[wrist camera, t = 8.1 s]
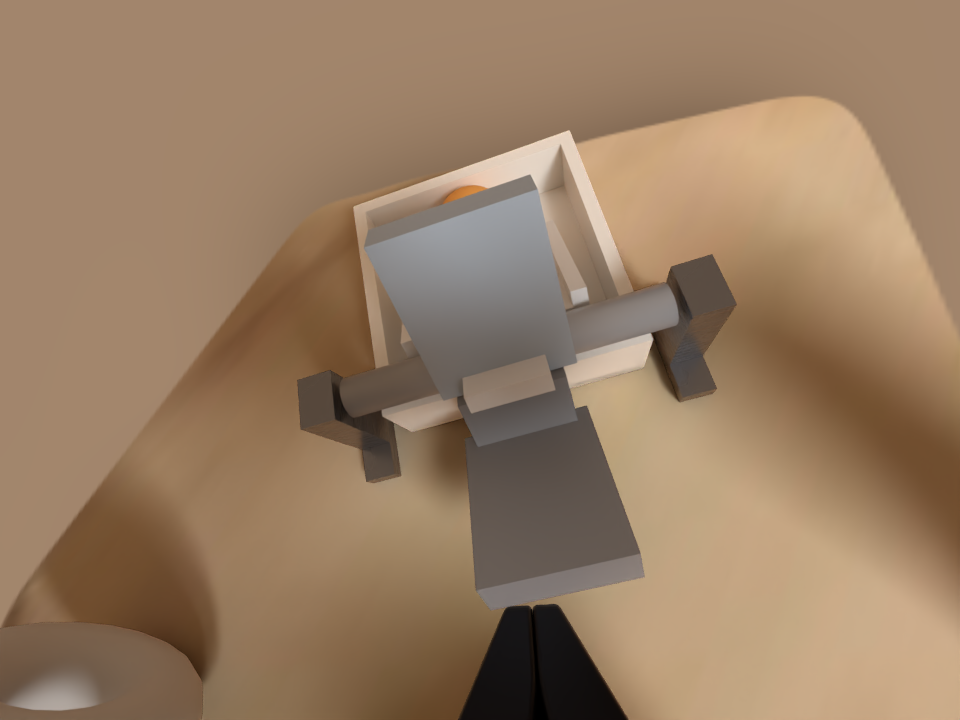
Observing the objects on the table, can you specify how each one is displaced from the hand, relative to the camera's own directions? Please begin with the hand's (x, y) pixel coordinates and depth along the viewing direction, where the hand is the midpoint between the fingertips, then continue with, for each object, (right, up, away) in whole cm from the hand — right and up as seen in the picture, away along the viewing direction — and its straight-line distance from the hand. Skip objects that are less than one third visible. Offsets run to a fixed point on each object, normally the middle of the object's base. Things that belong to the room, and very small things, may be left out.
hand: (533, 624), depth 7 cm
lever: (+1, +1, +13) cm, 13 cm away
